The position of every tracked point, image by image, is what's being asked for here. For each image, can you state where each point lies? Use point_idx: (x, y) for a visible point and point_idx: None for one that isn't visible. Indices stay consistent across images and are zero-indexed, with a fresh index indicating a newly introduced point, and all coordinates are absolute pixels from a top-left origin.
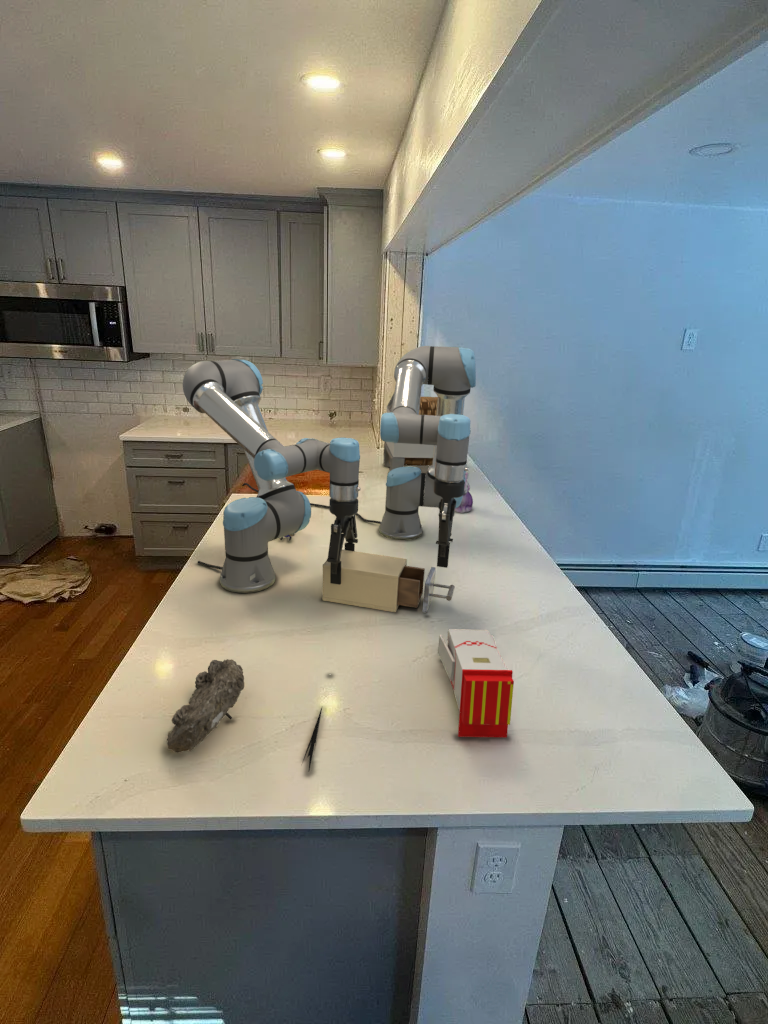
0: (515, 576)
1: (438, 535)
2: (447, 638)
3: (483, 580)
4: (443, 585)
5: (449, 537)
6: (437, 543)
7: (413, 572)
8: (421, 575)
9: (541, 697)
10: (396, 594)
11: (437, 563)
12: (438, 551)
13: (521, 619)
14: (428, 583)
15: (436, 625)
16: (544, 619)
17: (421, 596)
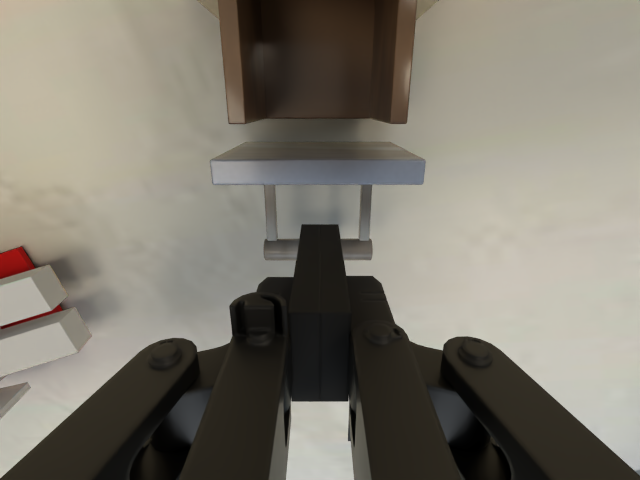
0: (598, 388)
1: (19, 466)
2: (45, 266)
3: (560, 305)
4: (364, 216)
5: (352, 442)
6: (238, 315)
7: (388, 57)
8: (383, 108)
9: (21, 443)
10: (204, 6)
11: (301, 234)
12: (294, 274)
13: (330, 407)
14: (212, 180)
15: (204, 199)
16: (348, 450)
17: (345, 118)
